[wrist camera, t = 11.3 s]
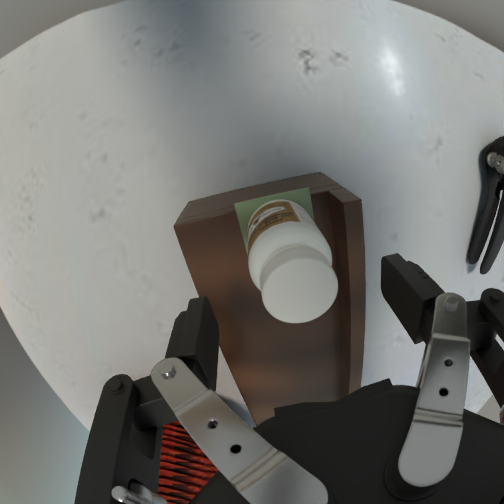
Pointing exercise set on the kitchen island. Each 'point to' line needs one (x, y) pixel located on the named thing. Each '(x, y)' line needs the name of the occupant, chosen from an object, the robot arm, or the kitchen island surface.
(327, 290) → the pill bottle
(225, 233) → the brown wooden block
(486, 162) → the can opener
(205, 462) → the vase
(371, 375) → the kitchen island surface
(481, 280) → the kitchen island surface
